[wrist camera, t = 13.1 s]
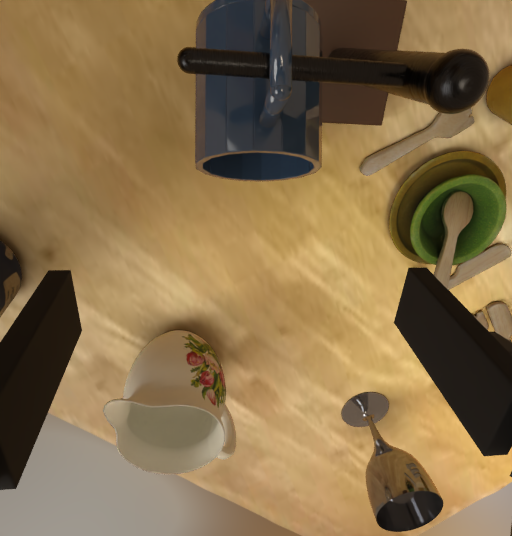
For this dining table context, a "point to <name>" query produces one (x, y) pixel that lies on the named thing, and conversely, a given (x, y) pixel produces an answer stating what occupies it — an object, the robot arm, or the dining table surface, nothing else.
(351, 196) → the dining table surface
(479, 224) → the tableware set
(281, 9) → the mug
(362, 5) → the cup holder
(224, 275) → the dining table surface
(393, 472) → the wine glass
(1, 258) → the canister
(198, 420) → the pitcher
